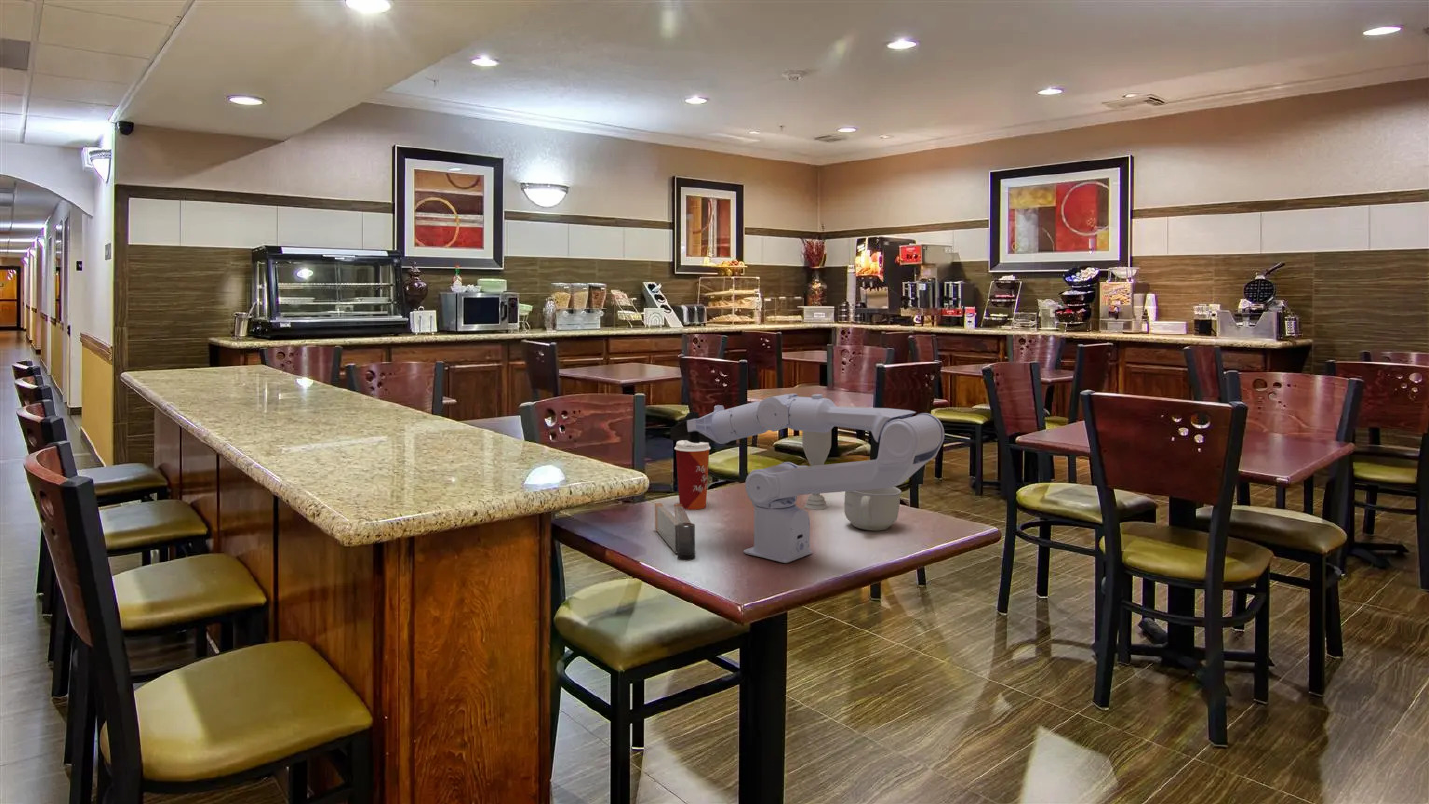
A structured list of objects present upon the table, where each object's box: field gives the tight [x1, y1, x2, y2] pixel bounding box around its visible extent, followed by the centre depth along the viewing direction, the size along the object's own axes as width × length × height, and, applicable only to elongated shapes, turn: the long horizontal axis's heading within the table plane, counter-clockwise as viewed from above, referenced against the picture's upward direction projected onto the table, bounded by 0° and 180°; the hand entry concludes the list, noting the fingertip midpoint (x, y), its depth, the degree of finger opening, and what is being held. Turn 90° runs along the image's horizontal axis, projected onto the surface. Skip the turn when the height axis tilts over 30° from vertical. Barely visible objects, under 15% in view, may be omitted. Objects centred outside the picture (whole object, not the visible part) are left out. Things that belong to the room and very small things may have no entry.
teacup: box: [843, 486, 902, 532], centre depth 175 cm, size 14×11×8 cm
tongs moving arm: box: [654, 502, 680, 554], centre depth 167 cm, size 17×1×5 cm, turn 16°
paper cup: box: [674, 440, 711, 511], centre depth 193 cm, size 8×8×14 cm
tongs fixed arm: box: [674, 503, 696, 561], centre depth 166 cm, size 20×3×6 cm, turn 9°
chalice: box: [801, 429, 832, 511], centre depth 192 cm, size 7×7×18 cm
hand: (685, 435), depth 171 cm, fingers open, 7 cm apart
